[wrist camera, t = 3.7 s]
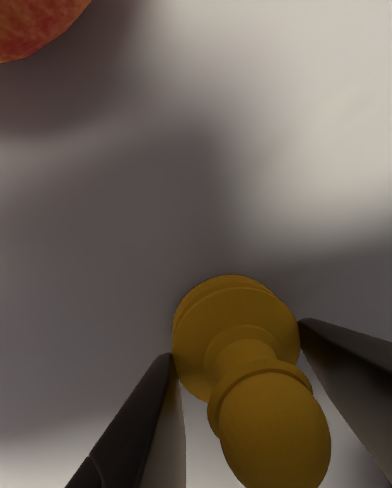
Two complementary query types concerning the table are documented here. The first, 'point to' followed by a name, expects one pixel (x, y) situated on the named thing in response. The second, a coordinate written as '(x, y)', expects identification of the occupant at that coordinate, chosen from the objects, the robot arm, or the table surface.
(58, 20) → the fruit
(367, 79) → the table surface
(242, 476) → the chess piece
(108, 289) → the table surface
